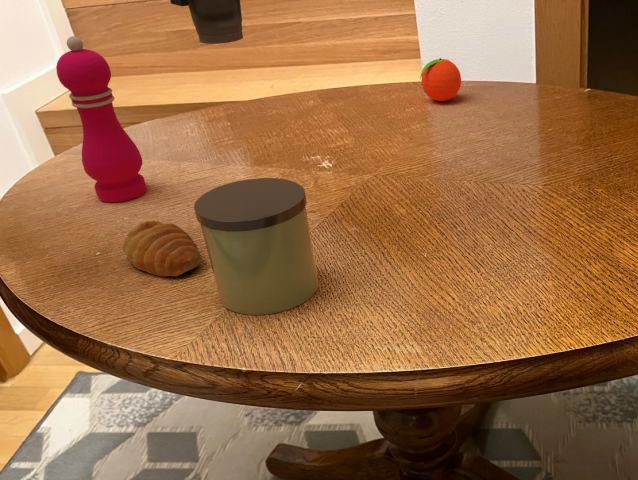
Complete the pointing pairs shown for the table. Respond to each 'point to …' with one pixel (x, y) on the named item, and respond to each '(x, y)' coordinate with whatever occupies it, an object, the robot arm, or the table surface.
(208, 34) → the beverage cup
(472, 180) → the table surface
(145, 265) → the pastry
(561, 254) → the table surface
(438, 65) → the clementine
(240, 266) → the jar
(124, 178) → the pepper mill
